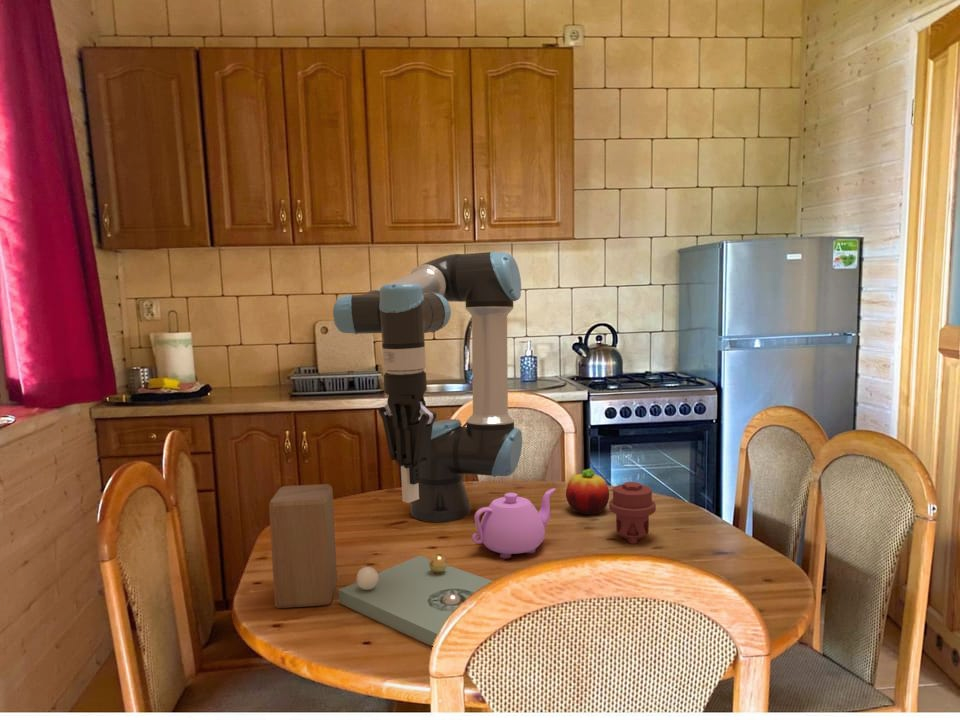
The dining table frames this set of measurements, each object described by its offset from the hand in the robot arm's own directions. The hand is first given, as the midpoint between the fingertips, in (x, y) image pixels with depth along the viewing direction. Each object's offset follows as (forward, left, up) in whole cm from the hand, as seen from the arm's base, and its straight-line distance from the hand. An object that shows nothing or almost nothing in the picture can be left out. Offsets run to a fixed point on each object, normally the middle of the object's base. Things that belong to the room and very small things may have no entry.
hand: (410, 500), depth 122 cm
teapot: (0, +30, -18) cm, 35 cm away
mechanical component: (+17, +50, -18) cm, 56 cm away
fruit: (-1, +60, -18) cm, 62 cm away
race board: (+4, 0, -18) cm, 19 cm away
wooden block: (-16, -12, -18) cm, 27 cm away
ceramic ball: (-5, -7, -14) cm, 16 cm away
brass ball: (0, +6, -14) cm, 15 cm away
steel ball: (+10, 0, -16) cm, 19 cm away
